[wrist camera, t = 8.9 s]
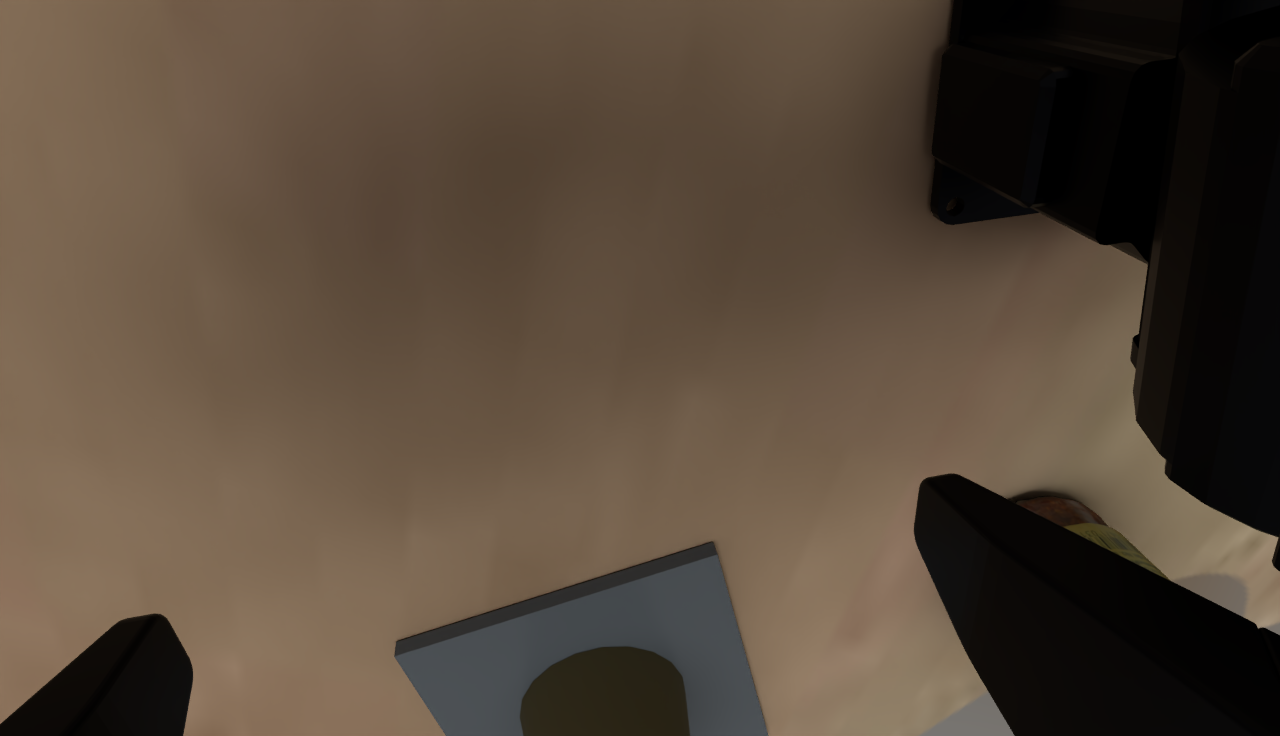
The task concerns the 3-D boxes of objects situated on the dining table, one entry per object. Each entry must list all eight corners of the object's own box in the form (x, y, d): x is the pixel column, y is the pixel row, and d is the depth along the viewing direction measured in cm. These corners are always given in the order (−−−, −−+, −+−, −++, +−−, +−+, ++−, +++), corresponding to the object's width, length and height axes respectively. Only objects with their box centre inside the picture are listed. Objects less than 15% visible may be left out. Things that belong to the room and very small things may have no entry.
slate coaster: (712, 542, 26) (717, 554, 25) (766, 732, 32) (771, 745, 31) (396, 641, 26) (394, 656, 25) (507, 815, 31) (507, 830, 31)
